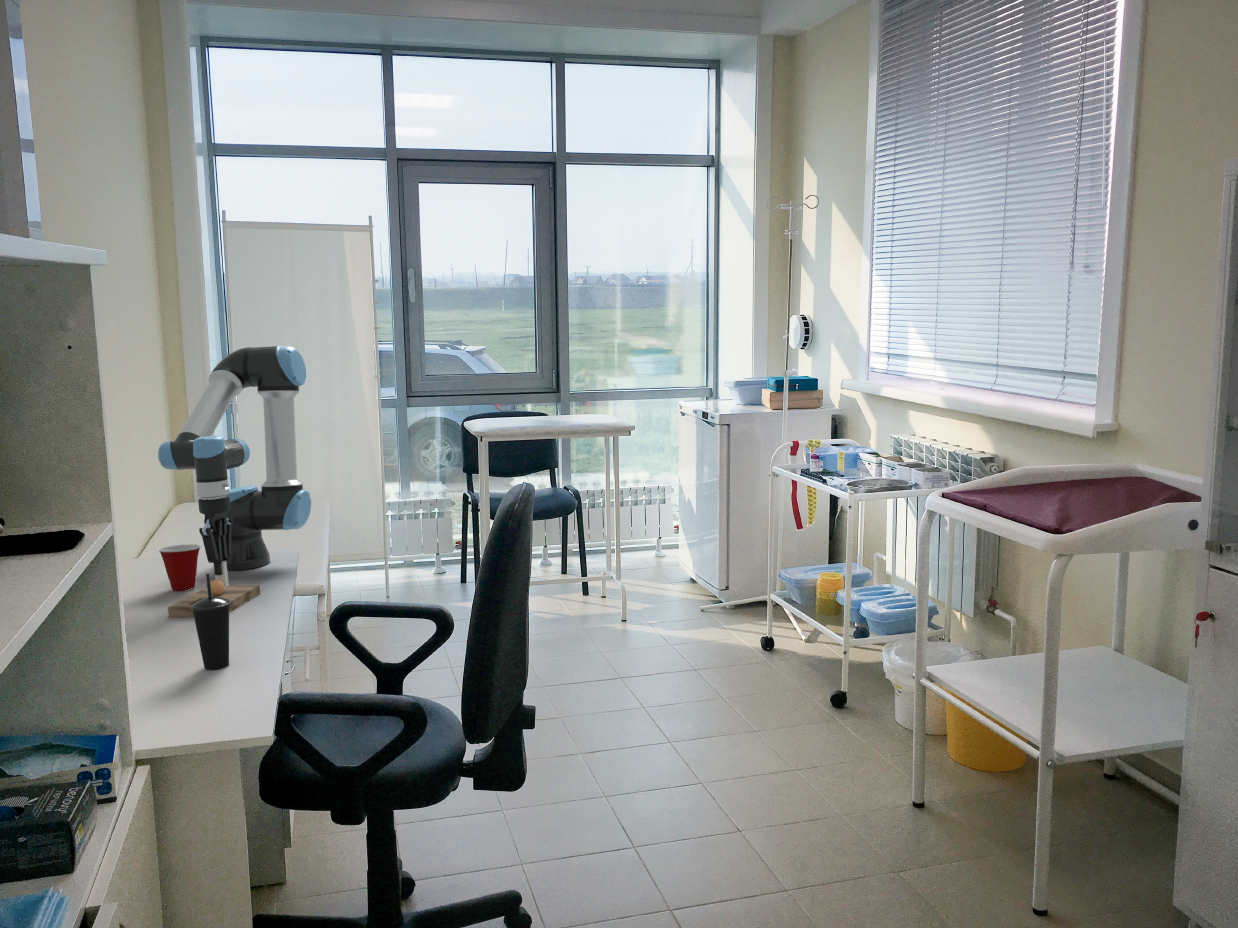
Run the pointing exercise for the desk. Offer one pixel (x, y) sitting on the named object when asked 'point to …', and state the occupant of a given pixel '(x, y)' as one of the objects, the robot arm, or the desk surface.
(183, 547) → the plastic cup
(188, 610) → the board
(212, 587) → the ball
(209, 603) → the drinking cup
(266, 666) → the desk surface
